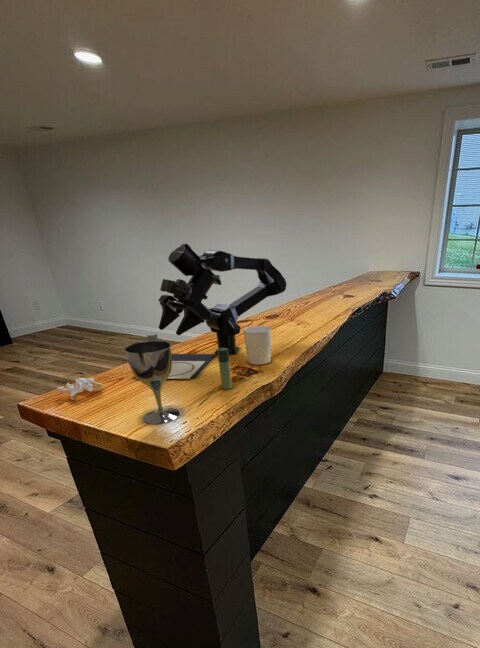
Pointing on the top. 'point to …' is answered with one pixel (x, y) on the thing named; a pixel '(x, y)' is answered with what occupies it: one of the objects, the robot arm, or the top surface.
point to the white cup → (258, 344)
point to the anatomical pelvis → (81, 386)
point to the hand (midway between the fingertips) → (168, 331)
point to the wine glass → (153, 374)
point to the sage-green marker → (224, 368)
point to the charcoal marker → (152, 337)
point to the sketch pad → (188, 365)
